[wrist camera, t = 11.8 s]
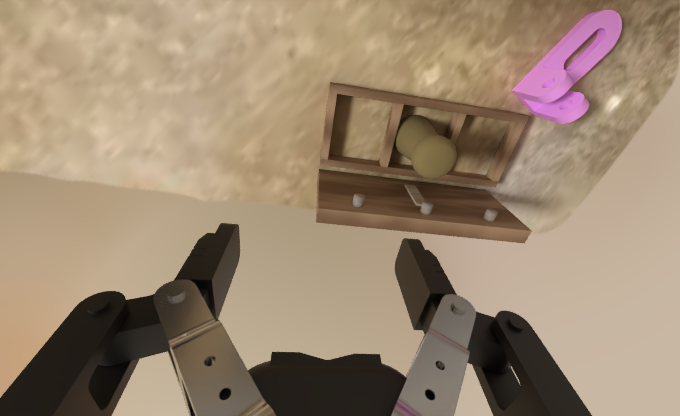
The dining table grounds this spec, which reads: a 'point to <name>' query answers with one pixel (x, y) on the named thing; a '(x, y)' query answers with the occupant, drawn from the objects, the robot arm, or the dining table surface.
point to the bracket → (568, 69)
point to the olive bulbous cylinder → (424, 147)
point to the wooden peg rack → (411, 196)
